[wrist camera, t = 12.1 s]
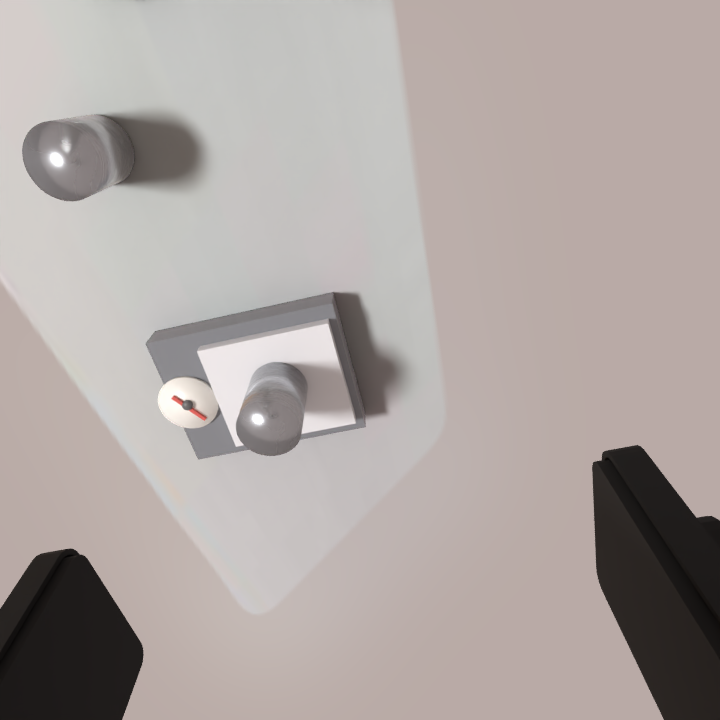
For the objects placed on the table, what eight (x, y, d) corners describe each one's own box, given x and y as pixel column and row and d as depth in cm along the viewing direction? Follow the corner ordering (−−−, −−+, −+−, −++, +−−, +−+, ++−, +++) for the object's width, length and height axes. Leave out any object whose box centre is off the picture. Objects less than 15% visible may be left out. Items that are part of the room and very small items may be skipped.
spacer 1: (54, 124, 33) (7, 131, 28) (117, 107, 32) (79, 112, 28) (85, 191, 34) (45, 208, 30) (145, 176, 34) (113, 191, 30)
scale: (143, 334, 39) (128, 351, 36) (333, 292, 38) (331, 307, 35) (193, 445, 43) (183, 468, 41) (365, 412, 42) (365, 433, 40)
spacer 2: (241, 368, 37) (226, 408, 33) (298, 356, 37) (291, 395, 32) (259, 416, 39) (247, 461, 34) (314, 405, 39) (309, 449, 34)
